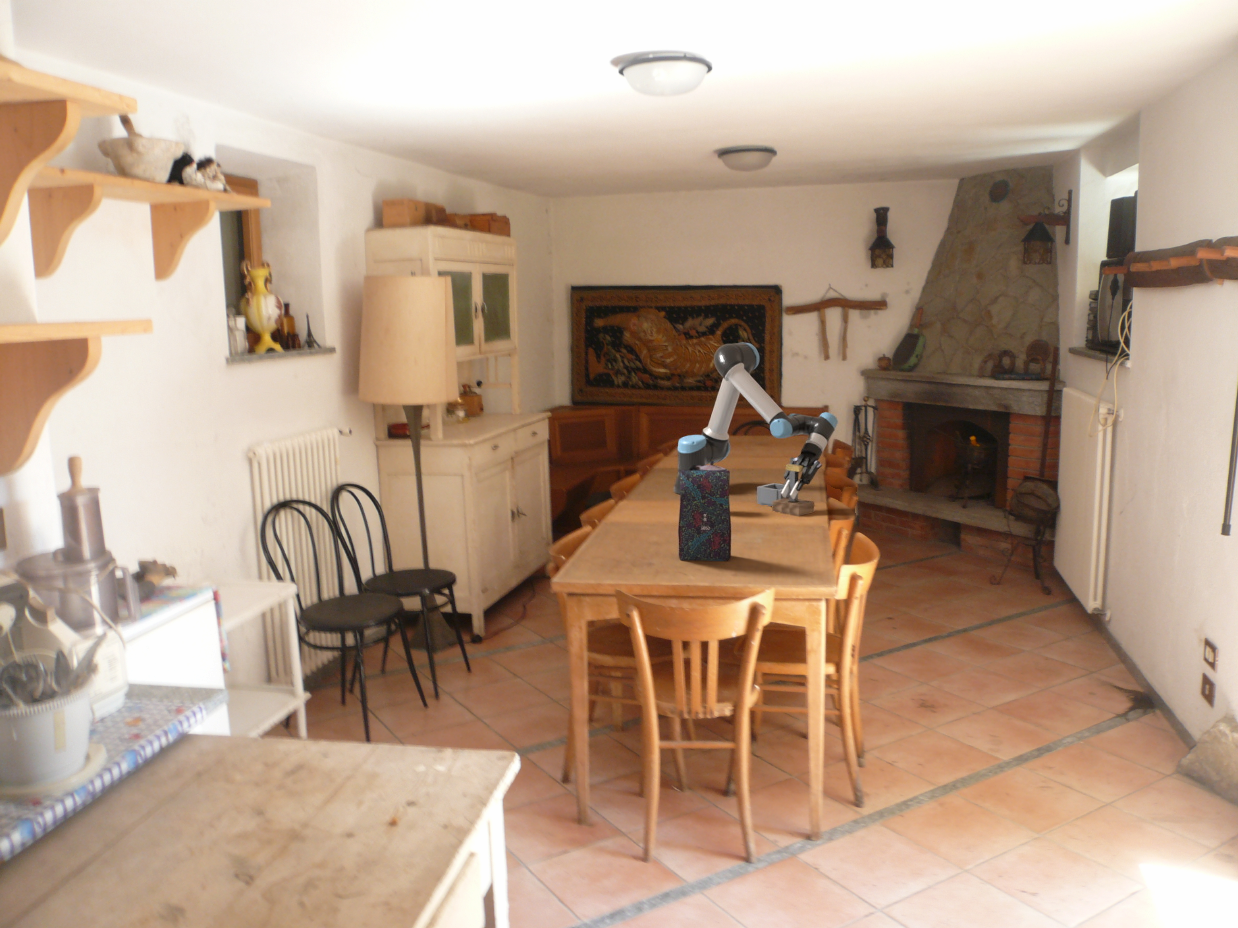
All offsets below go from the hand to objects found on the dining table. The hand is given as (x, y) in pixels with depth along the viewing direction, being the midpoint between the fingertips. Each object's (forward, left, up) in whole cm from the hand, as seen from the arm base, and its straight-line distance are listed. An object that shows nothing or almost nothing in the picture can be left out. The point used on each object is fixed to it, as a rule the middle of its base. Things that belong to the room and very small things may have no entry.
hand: (787, 496), depth 362 cm
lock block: (0, +4, -7) cm, 8 cm away
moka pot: (-23, -19, -7) cm, 31 cm away
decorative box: (+18, -69, -7) cm, 72 cm away
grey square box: (-12, +10, -7) cm, 18 cm away
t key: (0, +4, -7) cm, 8 cm away
